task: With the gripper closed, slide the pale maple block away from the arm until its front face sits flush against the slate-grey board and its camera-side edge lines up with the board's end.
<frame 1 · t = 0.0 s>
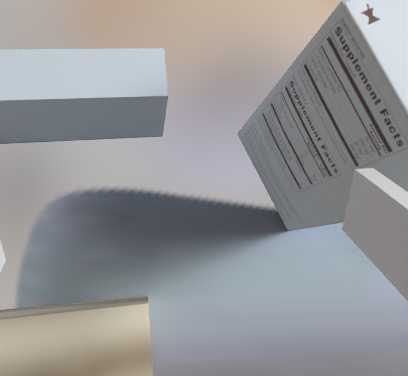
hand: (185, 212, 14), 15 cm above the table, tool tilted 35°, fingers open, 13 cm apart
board: (69, 121, 29), on the table
maple block: (65, 369, 26), on the table
supplement box: (307, 159, 32), on the table
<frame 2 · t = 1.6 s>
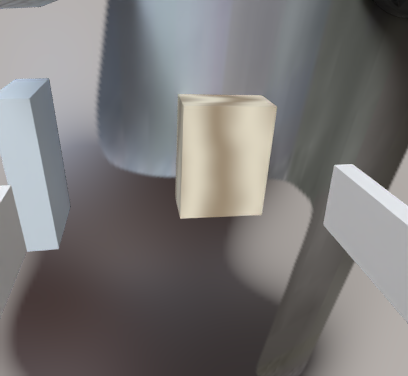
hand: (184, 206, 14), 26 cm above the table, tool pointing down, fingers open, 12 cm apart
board: (45, 148, 39), on the table
maple block: (216, 147, 42), on the table
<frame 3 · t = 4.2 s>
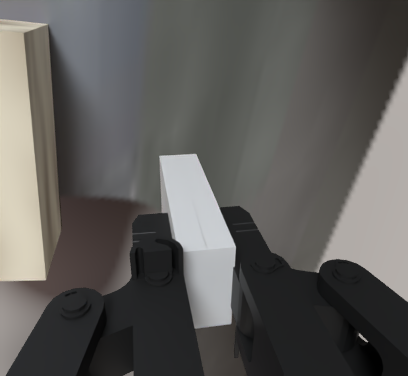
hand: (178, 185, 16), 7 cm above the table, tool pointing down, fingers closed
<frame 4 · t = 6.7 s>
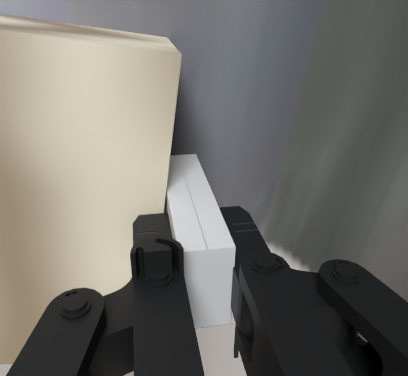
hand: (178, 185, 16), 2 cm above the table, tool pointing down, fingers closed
maple block: (49, 169, 16), on the table
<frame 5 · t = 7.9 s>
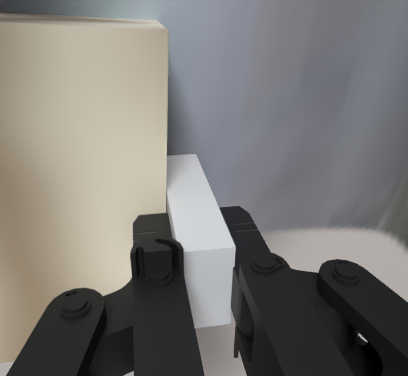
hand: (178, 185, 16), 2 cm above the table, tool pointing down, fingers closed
maple block: (52, 165, 16), on the table
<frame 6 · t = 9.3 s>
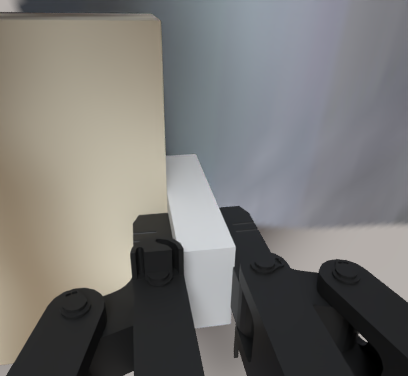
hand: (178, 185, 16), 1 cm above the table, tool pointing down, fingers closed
maple block: (53, 165, 16), on the table, touching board
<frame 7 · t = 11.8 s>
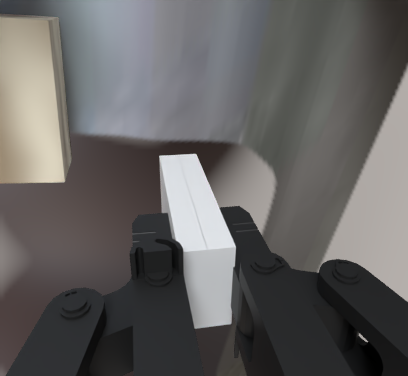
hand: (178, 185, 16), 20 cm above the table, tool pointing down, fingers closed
maple block: (9, 92, 31), on the table
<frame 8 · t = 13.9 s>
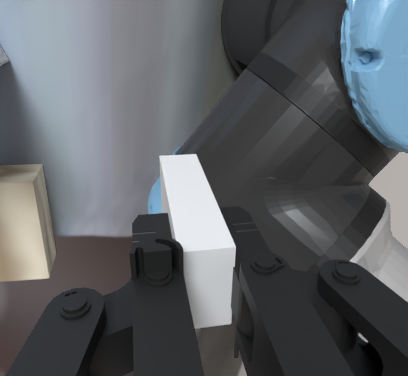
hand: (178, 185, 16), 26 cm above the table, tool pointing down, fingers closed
maple block: (9, 212, 43), on the table
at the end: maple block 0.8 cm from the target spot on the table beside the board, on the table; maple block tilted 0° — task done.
